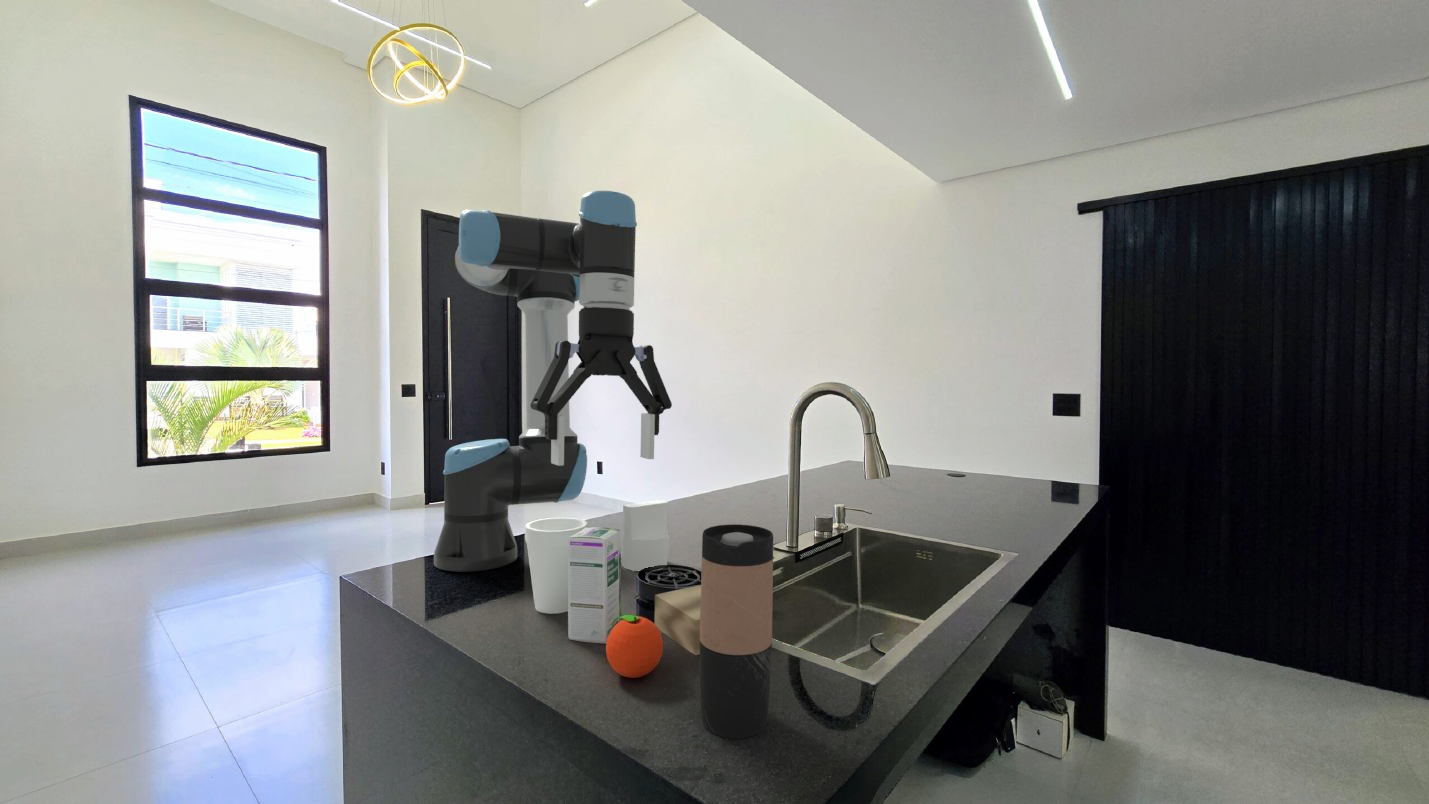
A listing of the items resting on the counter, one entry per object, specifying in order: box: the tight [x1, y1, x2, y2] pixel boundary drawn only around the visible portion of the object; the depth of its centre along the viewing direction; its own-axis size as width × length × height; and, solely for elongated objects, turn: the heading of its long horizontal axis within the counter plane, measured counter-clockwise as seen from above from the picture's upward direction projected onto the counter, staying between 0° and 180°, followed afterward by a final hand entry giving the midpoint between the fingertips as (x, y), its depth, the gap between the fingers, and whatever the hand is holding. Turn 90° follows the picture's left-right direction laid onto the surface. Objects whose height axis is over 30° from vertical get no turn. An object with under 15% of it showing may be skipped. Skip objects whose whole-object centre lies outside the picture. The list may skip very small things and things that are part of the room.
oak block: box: [653, 584, 701, 656], centre depth 87 cm, size 11×11×5 cm
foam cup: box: [524, 517, 589, 615], centre depth 95 cm, size 10×9×13 cm
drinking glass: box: [621, 499, 670, 570], centre depth 118 cm, size 9×9×12 cm
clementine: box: [605, 614, 664, 679], centre depth 74 cm, size 8×7×7 cm
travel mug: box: [699, 523, 774, 739], centre depth 64 cm, size 8×8×20 cm
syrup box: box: [567, 526, 622, 644], centre depth 85 cm, size 6×6×14 cm
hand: (604, 461), depth 85 cm, fingers open, 13 cm apart
